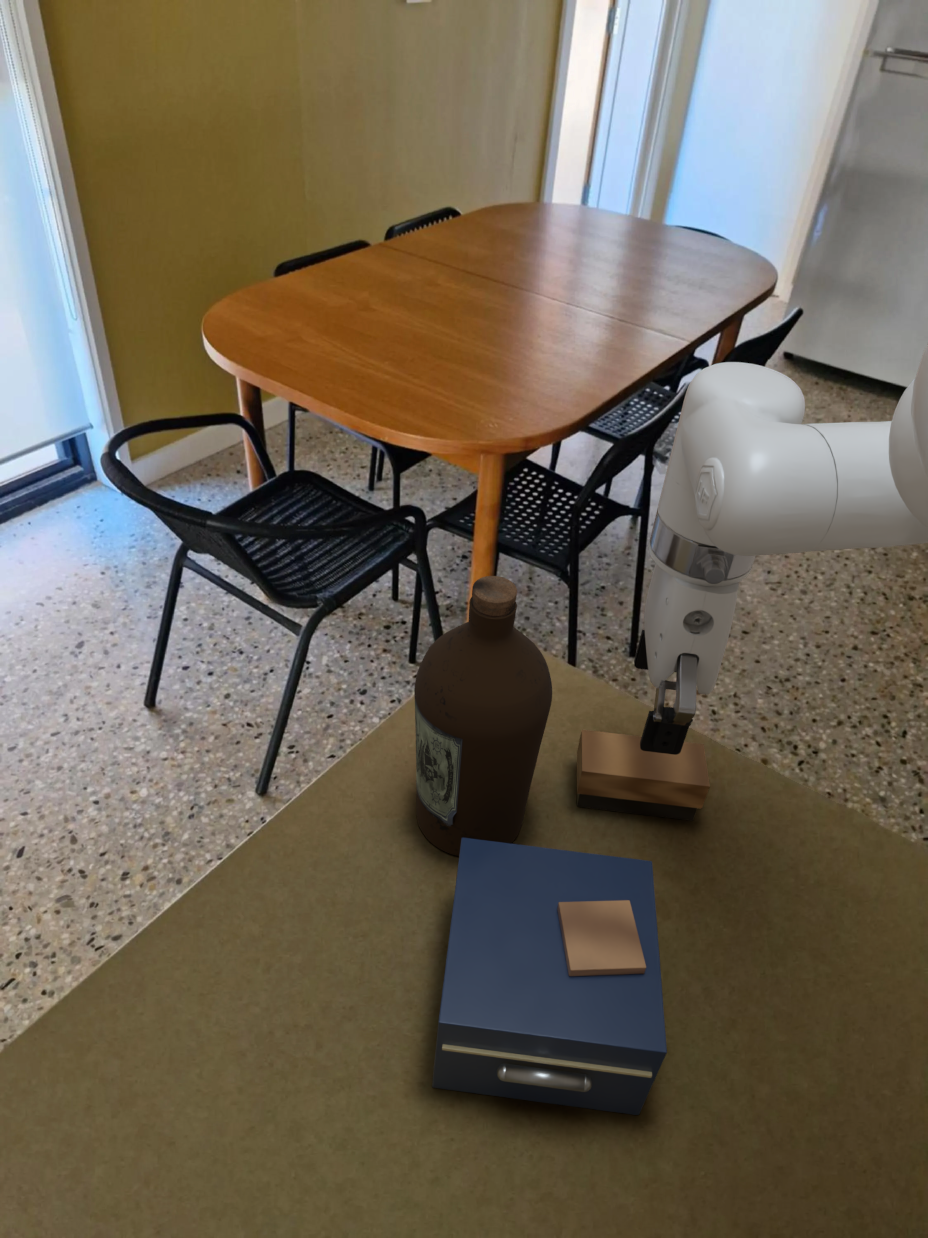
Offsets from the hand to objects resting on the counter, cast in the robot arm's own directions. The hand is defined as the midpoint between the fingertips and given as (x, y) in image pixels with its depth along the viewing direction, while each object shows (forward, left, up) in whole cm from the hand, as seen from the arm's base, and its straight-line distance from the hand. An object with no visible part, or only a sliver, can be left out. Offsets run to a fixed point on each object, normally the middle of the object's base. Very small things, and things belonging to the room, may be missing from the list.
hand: (655, 707), depth 75 cm
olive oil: (-5, +15, -11) cm, 19 cm away
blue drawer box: (-21, +8, -11) cm, 25 cm away
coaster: (-21, +5, -2) cm, 22 cm away
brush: (0, 0, -11) cm, 11 cm away
